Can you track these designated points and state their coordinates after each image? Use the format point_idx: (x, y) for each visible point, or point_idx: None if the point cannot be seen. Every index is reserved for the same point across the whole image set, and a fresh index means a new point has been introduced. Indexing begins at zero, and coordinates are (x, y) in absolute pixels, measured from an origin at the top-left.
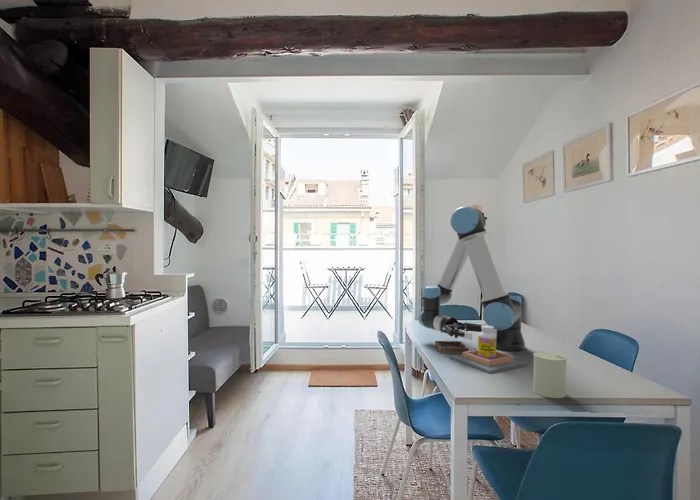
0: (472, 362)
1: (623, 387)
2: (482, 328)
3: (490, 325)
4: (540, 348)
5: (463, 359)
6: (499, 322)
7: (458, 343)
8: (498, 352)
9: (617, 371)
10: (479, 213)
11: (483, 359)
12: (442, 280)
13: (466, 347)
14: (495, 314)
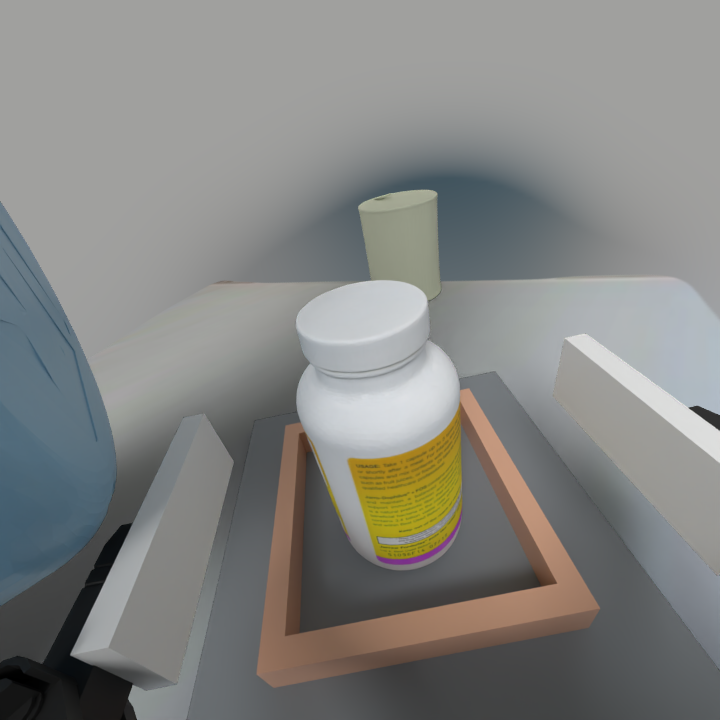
0: (539, 475)
1: (232, 304)
2: (428, 315)
3: (107, 490)
4: None
5: (596, 553)
6: (76, 376)
7: None
8: (286, 505)
9: (103, 358)
10: None
11: (483, 413)
12: None
13: None
14: (5, 281)
